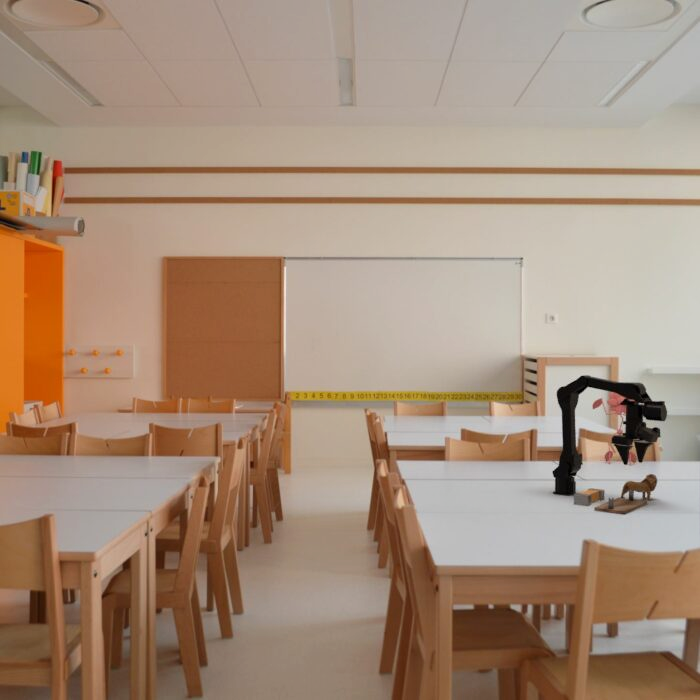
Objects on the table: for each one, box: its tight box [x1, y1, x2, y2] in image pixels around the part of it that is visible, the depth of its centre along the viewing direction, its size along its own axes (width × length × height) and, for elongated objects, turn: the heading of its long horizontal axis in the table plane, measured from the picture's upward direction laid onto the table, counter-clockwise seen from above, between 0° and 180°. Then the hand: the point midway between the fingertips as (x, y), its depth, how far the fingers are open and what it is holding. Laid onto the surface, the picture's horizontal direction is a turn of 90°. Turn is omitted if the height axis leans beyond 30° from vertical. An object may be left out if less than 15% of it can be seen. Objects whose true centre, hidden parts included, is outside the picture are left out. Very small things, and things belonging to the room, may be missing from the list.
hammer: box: [573, 487, 605, 507], centre depth 275 cm, size 5×15×4 cm, turn 141°
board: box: [593, 490, 648, 516], centre depth 265 cm, size 10×22×4 cm, turn 141°
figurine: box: [592, 392, 645, 466], centre depth 368 cm, size 15×26×35 cm, turn 67°
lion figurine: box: [620, 473, 658, 502], centre depth 279 cm, size 15×5×9 cm, turn 105°
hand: (633, 463), depth 273 cm, fingers open, 9 cm apart
